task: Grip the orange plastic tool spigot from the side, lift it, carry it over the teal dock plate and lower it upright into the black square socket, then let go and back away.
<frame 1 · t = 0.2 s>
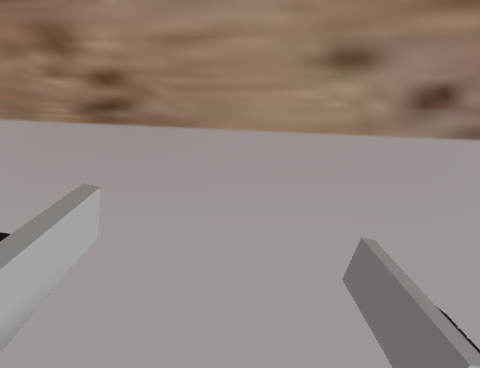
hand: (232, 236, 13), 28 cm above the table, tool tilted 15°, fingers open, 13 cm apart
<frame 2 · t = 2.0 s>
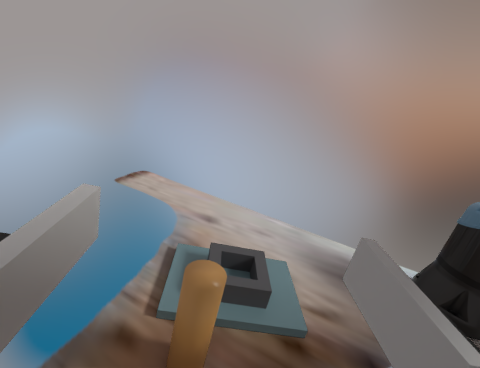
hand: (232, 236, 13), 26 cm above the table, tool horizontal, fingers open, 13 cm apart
spigot: (185, 365, 32), on the table
dock: (232, 287, 46), on the table
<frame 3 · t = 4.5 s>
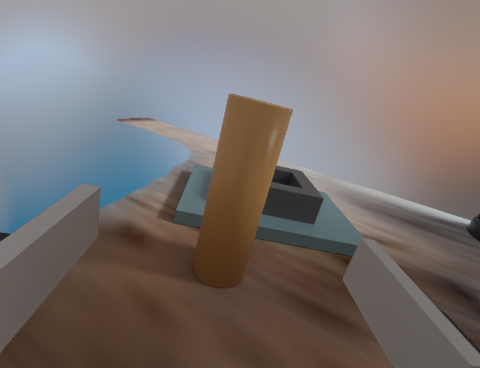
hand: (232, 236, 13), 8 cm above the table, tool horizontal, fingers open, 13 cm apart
spigot: (218, 268, 23), on the table
dock: (265, 208, 36), on the table
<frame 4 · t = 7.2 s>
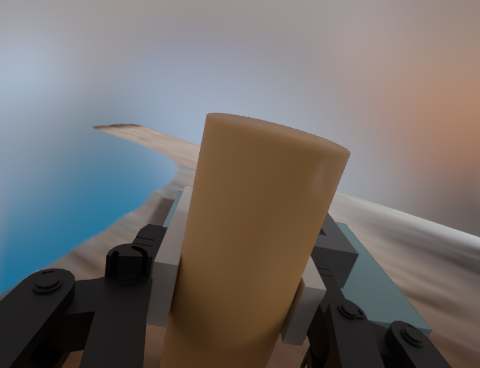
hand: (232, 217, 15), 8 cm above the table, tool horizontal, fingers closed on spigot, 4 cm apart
dock: (271, 256, 27), on the table
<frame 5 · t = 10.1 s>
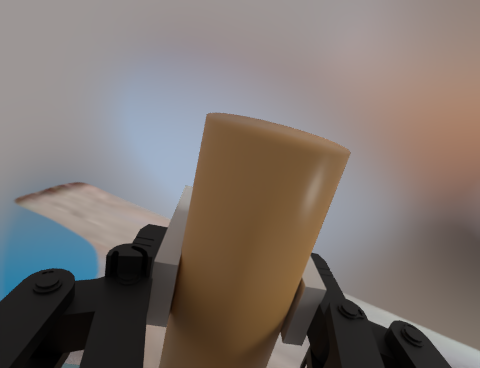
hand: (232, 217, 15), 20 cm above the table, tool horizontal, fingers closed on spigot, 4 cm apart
when the fingers open (10 cm above the table, at t = 13.0 s): spigot stays where it is, resting on dock.
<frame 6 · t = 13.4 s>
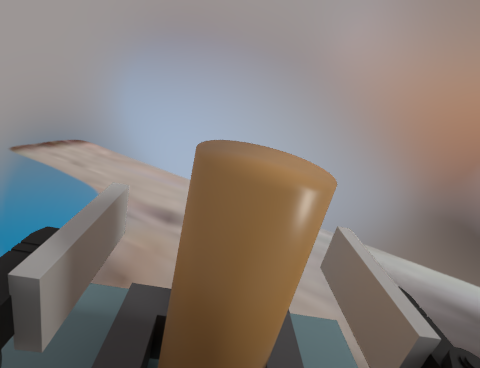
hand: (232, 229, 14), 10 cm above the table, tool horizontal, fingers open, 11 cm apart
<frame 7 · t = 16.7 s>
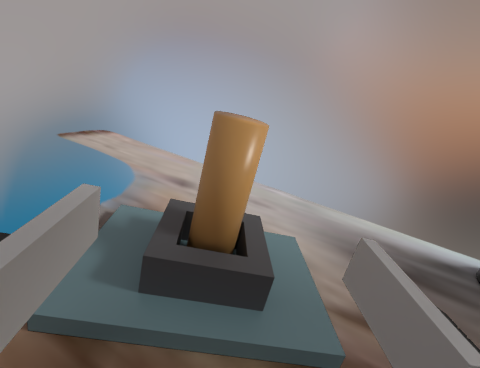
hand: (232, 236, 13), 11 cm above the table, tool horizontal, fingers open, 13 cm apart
spigot: (206, 262, 26), point 2 cm above the table, touching dock
dock: (203, 274, 26), on the table
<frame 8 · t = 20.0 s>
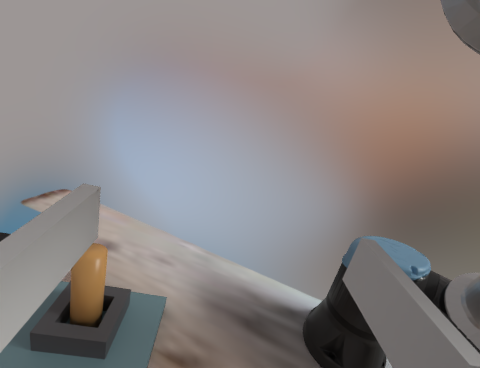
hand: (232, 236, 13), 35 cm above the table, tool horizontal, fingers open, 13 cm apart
spigot: (85, 324, 42), point 2 cm above the table, touching dock
dock: (85, 331, 43), on the table
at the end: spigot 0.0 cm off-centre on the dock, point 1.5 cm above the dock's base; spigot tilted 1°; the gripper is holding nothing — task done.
